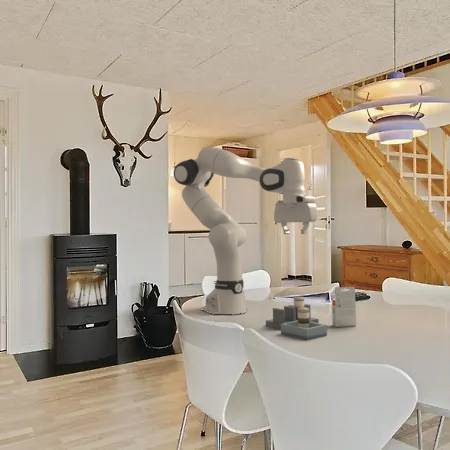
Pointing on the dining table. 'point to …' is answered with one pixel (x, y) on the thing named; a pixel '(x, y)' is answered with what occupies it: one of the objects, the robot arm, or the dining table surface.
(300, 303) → the cylinder
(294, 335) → the parts tray
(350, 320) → the ink box
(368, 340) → the dining table surface
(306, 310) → the cylinder
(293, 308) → the fuse holder
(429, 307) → the dining table surface
